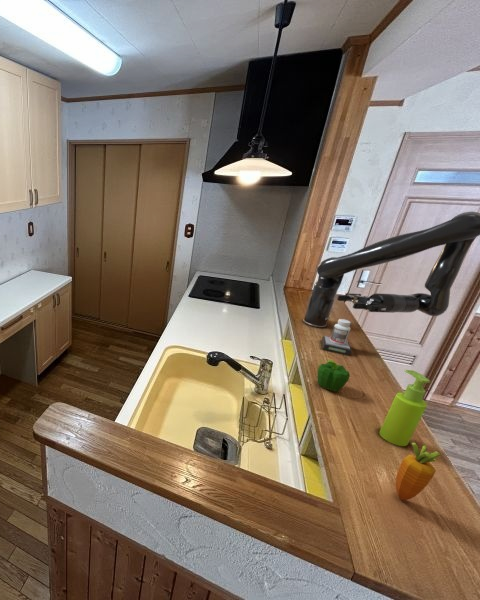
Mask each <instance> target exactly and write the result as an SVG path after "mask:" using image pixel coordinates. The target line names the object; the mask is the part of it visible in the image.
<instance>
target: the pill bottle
mask: <svg viewBox="0 0 480 600" xmlns="http://www.w3.org/2000/svg"><path fill="white" fill-rule="evenodd" d="M350 326H351V321H350V320H348V319H345V318H339V319H338V320H337V323H335V324H334V325H333V329H332V332H331V335H330V337H331V338H330V341H332V342H333V343H336V344H340V345H344V344H346V341H348V339H349V335H350V332H351V329H352V328H351V327H350Z"/></svg>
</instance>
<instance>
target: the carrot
mask: <svg viewBox="0 0 480 600" xmlns="http://www.w3.org/2000/svg"><path fill="white" fill-rule="evenodd" d="M411 446H412V448H413V451H414V455H413V454H408V455H407V456H405V457H404V458H403V459H402V460H401V463H400V465H399V467H398V469H397V471H396V476H395V477H396V478H395V490H396V494H397V497H398V499H399V500H401V501H408V500H411V499H413V498H415V497H416V496H418V495H419V494H420V493H421V492H422V491H423V490H424V489H425V488H427V486H428V485H429V483H430V482H431V481H432V479H433V477H434V476H435V474H436V472H437V470H436V468H435V467H434V466H433V464H432V463H433V462H437V459H436V458H438V457H440V456H441V454H440V452H439V451H433V452H431V453H429V452H428V451H427V449H428V446H427V445H422V448H421V450H419V446H418V445H417V444H416V442H411Z"/></svg>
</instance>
